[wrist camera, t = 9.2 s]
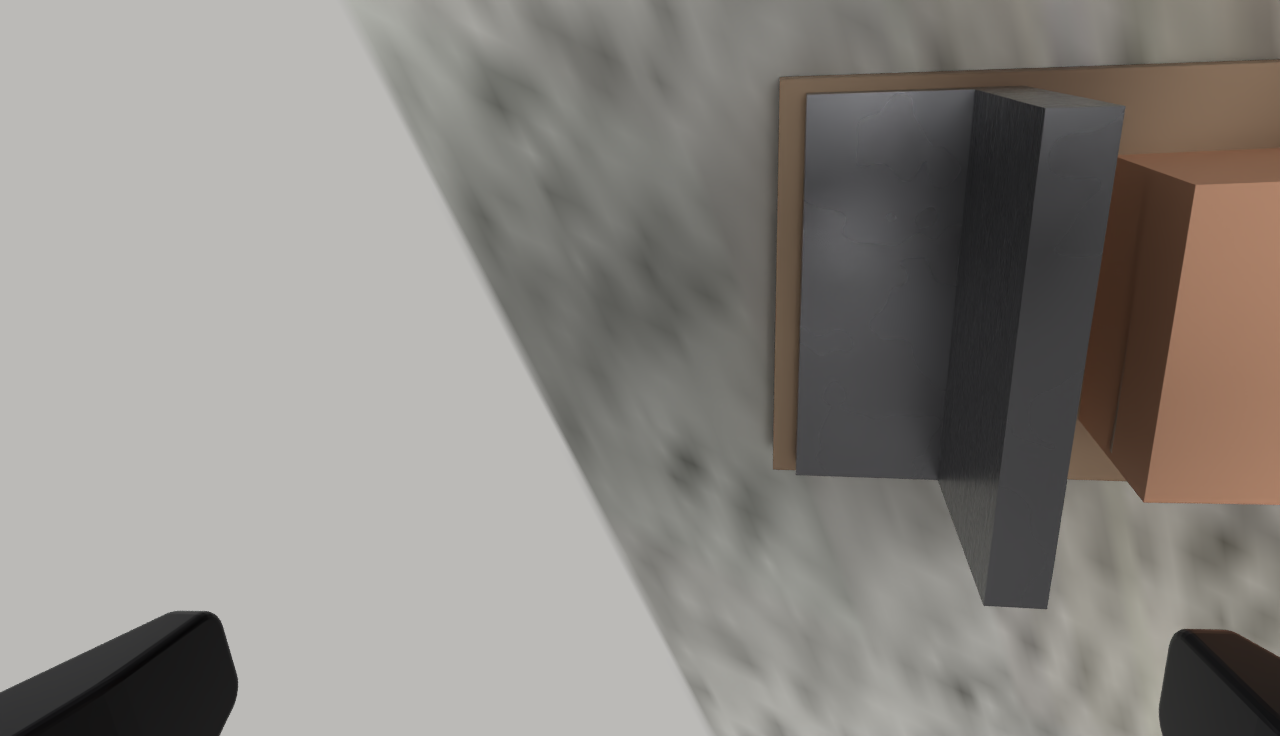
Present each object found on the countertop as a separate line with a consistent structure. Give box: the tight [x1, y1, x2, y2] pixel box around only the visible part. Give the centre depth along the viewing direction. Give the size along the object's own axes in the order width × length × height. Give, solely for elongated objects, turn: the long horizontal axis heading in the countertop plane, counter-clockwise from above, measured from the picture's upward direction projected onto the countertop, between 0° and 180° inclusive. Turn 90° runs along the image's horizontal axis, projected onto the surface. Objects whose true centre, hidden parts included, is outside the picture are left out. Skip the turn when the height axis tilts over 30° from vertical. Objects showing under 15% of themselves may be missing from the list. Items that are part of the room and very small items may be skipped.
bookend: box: [795, 86, 1126, 609], centre depth 15 cm, size 4×8×5 cm, turn 2°
